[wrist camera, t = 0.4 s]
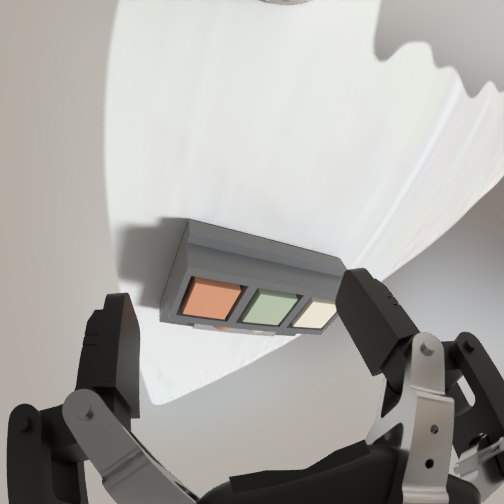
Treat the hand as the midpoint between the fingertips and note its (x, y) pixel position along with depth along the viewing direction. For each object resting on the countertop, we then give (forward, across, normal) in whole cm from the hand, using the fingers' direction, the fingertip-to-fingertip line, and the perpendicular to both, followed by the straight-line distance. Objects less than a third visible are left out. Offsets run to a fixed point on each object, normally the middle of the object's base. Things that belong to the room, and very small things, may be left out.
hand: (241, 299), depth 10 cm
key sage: (+15, -6, +15) cm, 22 cm away
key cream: (+15, -13, +18) cm, 26 cm away
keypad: (+19, -6, +17) cm, 26 cm away
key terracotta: (+15, 0, +13) cm, 19 cm away
